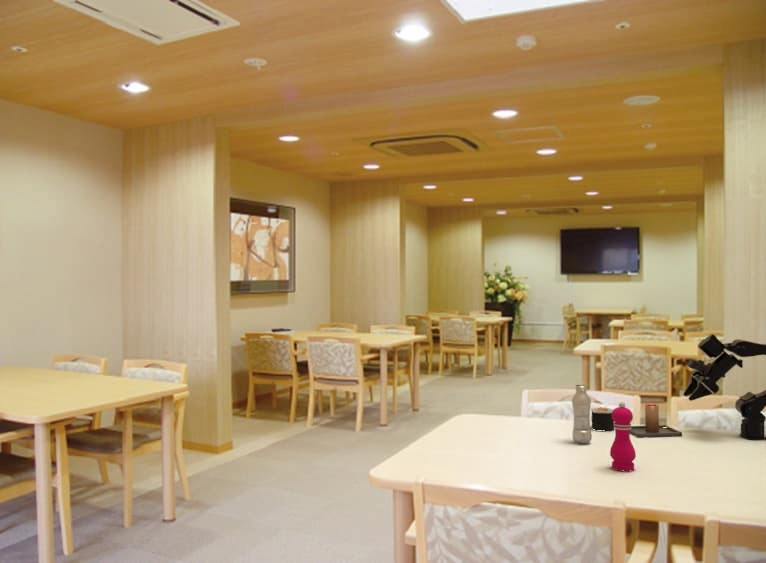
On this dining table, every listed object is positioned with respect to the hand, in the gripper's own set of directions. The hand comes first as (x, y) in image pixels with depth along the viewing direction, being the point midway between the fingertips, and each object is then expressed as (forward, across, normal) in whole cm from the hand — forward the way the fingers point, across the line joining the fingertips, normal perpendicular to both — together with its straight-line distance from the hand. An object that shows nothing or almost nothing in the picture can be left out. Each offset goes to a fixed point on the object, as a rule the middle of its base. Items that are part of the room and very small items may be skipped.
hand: (686, 397), depth 235 cm
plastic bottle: (+36, +18, -16) cm, 43 cm away
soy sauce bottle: (+17, -1, +1) cm, 17 cm away
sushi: (+30, -5, -10) cm, 32 cm away
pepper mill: (+28, +47, -9) cm, 56 cm away
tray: (+18, -1, +1) cm, 18 cm away
